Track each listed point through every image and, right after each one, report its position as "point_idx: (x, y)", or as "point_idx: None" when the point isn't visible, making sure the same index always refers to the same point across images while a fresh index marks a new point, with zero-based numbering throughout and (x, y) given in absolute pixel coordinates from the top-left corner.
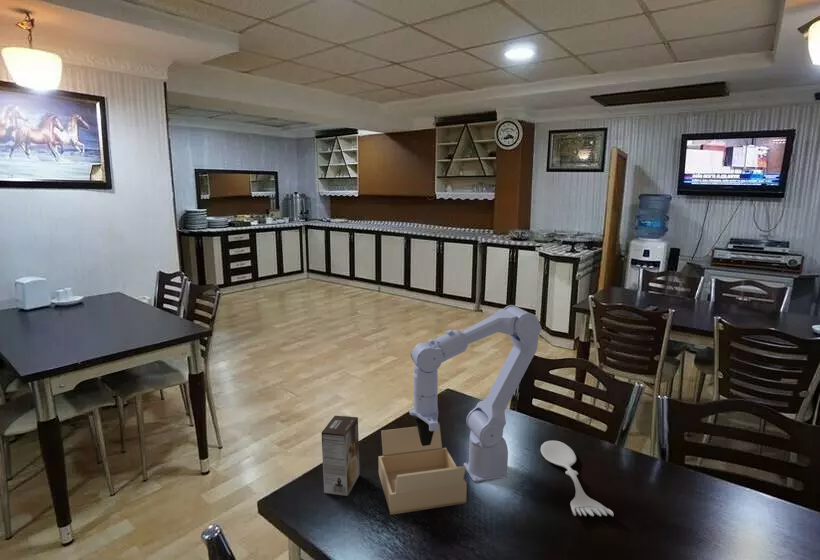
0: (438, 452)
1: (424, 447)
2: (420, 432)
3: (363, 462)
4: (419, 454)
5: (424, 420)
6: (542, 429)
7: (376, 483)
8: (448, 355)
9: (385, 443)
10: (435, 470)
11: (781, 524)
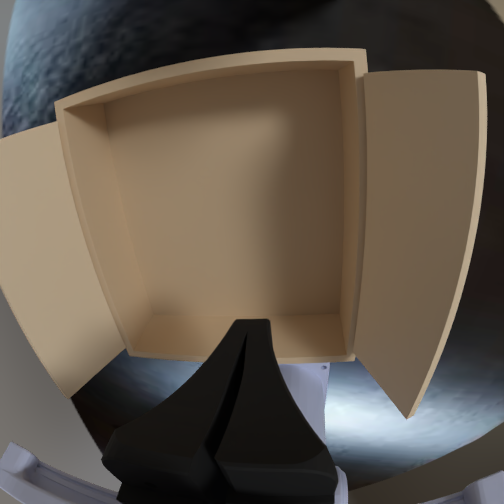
0: (347, 329)
1: (366, 296)
2: (178, 389)
3: (433, 26)
4: (353, 258)
5: (34, 495)
6: (389, 469)
7: (280, 45)
8: None
9: (407, 90)
10: (14, 312)
11: None
